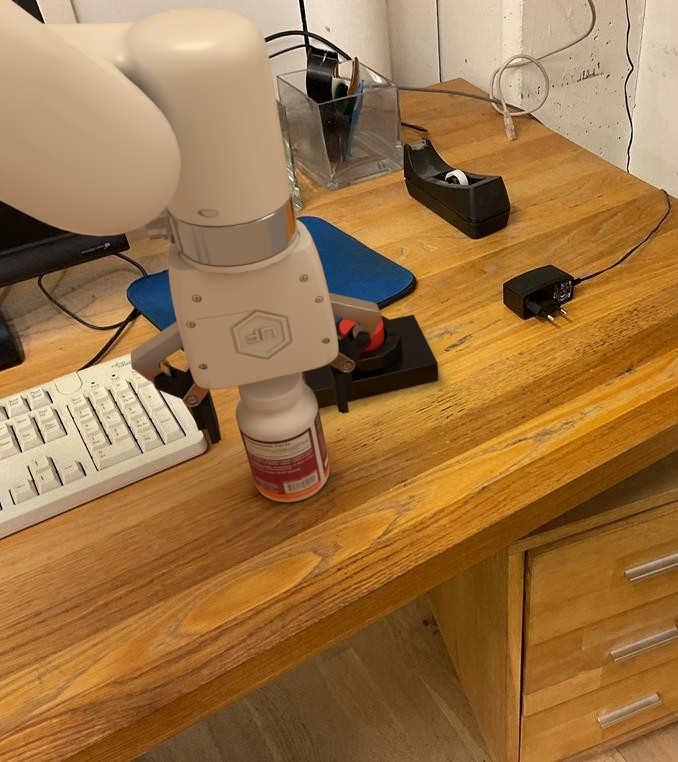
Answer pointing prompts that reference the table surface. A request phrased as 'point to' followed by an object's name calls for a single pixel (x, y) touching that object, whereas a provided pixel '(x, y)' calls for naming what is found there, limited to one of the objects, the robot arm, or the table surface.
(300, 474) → the pill bottle
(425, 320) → the table surface
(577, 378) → the table surface
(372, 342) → the button
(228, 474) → the table surface
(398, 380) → the button box
